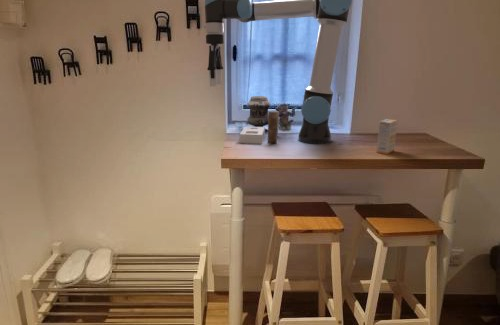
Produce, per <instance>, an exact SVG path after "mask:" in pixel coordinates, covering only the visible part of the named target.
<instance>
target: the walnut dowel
mask: <svg viewBox="0 0 500 325" xmlns="http://www.w3.org/2000/svg"><path fill="white" fill-rule="evenodd" d="M277 112H278V111H275V110H270V111H269V110H268V124H267V130H268V132H267V143H268V144H273V145H274V144H277V141H278V140H277V138H278V137H277Z"/></svg>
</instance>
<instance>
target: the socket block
mask: <svg viewBox="0 0 500 325" xmlns="http://www.w3.org/2000/svg"><path fill="white" fill-rule="evenodd" d="M265 129H266V126H263V127H255V126H244V127H243V129H242V130H241V131H240V133H239V144H257V145H258V144H263V142H264V139H265V136H266V132H265Z"/></svg>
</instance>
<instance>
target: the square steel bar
mask: <svg viewBox="0 0 500 325" xmlns="http://www.w3.org/2000/svg"><path fill="white" fill-rule="evenodd" d="M279 114H280V112H279V111H277V138H278V137H279Z"/></svg>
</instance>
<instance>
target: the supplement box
mask: <svg viewBox="0 0 500 325" xmlns="http://www.w3.org/2000/svg"><path fill="white" fill-rule="evenodd" d="M398 121H399V120H398V119H389V118H385V119H382V120H379V123H378V124H379V126H378V134H377V145H376V153H378V154H384V155H389V154H391V153H392V152H394V151H395V145H396V138H397V137H396V136H397V129H398Z"/></svg>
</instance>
